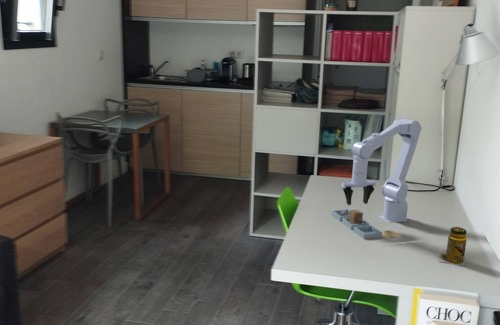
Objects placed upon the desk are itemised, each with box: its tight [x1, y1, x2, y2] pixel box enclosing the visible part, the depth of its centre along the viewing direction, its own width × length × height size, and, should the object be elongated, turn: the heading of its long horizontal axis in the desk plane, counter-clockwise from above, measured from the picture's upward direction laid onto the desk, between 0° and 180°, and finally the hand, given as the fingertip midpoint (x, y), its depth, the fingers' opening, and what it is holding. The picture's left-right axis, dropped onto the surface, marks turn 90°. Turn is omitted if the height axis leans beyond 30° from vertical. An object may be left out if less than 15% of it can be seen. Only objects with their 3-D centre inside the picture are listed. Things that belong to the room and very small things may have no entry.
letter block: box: [349, 209, 364, 224], centre depth 212 cm, size 4×4×6 cm
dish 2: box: [341, 218, 370, 231], centre depth 213 cm, size 8×8×2 cm
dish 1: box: [330, 208, 351, 222], centre depth 222 cm, size 8×8×2 cm
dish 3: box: [353, 224, 383, 240], centre depth 204 cm, size 8×8×2 cm
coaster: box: [380, 229, 404, 239], centre depth 205 cm, size 7×7×1 cm
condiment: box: [438, 226, 468, 267], centre depth 182 cm, size 7×8×12 cm
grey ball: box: [341, 211, 348, 216], centre depth 222 cm, size 3×3×3 cm
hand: (356, 203), depth 211 cm, fingers open, 7 cm apart
